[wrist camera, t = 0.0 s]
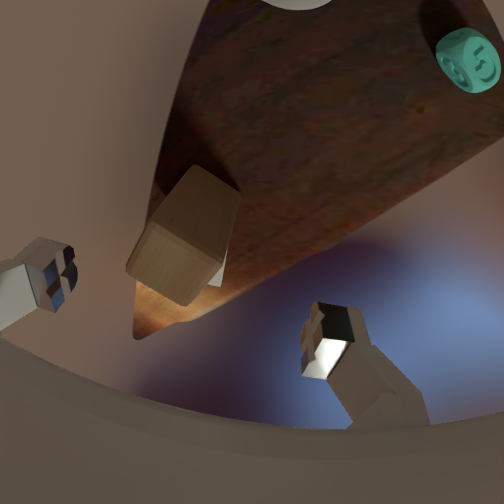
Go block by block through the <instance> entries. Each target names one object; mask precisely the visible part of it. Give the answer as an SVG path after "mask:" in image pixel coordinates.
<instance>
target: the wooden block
mask: <svg viewBox="0 0 504 504" xmlns="http://www.w3.org/2000/svg"><path fill="white" fill-rule="evenodd" d="M240 200H241V194H240V193H239V192H238V191H237V190H235V189H234V188H232V187H231V186H229V185H228V184H226V183H225V182H223V181H222V180H220V179H219V178H217V177H216V176H214V175H213V174H211V173H210V172H208V171H207V170H205V169H203V168H202V167H200V166H199V165H193V166H191V167H190V168H189V169H188V171H187V172H186V173H185V174H184V176H183V177H182V178H181V179H180V181H179V182H178V183H177V184H176V186H175V187H174V188H173V189H172V191H171V192H170V193H169V194H168V196H167V197H166V198H165V200H164V201H163V202H162V203H161V205H160V206H159V207H158V209H157V210H156V211H155V213H154V214H153V215H152V217H151V218H150V219H149V221H148V223H147V225H146V227H145V228H144V230H143V232H142V234H141V236H140V238H139V240H138V242H137V244H136V245H135V247H134V249H133V251H132V254H131V255H130V258H129V259H128V261H127V263H126V272H127V273H128V274H129V275H130V276H132V277H133V278H135V279H137V280H138V281H140V282H142V283H143V284H145V285H147V286H148V287H150V288H152V289H153V290H155V291H157V292H158V293H160V294H162V295H163V296H165V297H167V298H169V299H170V300H172V301H174V302H176V303H177V304H179V305H181V306H188V305H189V304H190V303H191V302H192V301H193V300H194V299H195V298H196V296H197V295H198V294H199V293H200V292H201V291H202V289H203V288H204V287H205V286H206V285H207V284H208V283H209V281H210V280H211V279H212V278H213V277H214V276H215V274H216V273H217V272H218V271H219V270H220V269H221V267H222V266H223V263H224V259H225V255H226V252H227V248H228V244H229V240H230V237H231V233H232V229H233V225H234V222H235V218H236V214H237V211H238V207H239V203H240Z"/></svg>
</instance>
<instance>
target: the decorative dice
mask: <svg viewBox="0 0 504 504" xmlns="http://www.w3.org/2000/svg"><path fill="white" fill-rule="evenodd" d="M436 58H437V61H438V63H439V65H440V66H441V68H442V69H443V71H444V72H445V73H446V75H447V76H448V77H449V78H450V79H451V80H452V81H453V82H454V83H455V84H456V85H457V86H458V87H460V88H461V89H463V90H464V91H467V92H471V93H477V92H481V91H484V90H487V89H489V88H490V87H492V86H493V85H494V84H495V83H496V82H497V81H498V79H499V77H500V72H501V65H500V60H499V56H498V54H497V52H496V50H495V48H494V47H493V45H492V44H491V43H490V42H489V40H488V39H487V38H486V37H485V36H483V35H482V34H481V33H479V32H478V31H476V30H474V29H472V28H468V27H466V28H461V29H458V30H455V31H453V32H451V33H449V34H448V35H446V36H445V37H443V38H442V39H441V40H440V41H439V42H438V43H437V45H436Z"/></svg>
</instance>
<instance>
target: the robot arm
mask: <svg viewBox="0 0 504 504" xmlns="http://www.w3.org/2000/svg"><path fill="white" fill-rule="evenodd" d="M263 1H265V2H267V3H269V4H271V5H273V6H276V7H280V8H284V9H290V10H307V9H313V8H317V7H320V6H322V5H324V4H326V3H328V2H330V1H331V0H263ZM74 258H75V254H74V248H72V247H71V246H70V245H67V244H63V243H60V242H57V241H54V240H49V239H47V238H43V237H37V238H36V239H35V240H34V241H32V242H31V243H30V244H29V245H28V246H27V247H25V248H24V249H23V250H22V251H21V252H20V253H19V254H18V255H17V256H16V257H15V258H13V259H7V260H4V261H1V262H0V331H1V330H2V329H3V328H5V327H7V326H8V325H10V324H12V323H13V322H15V321H17V320H18V319H20V318H21V317H23V316H24V315H26V314H28V313H30V312H31V311H33V310H35V309H36V308H37V307H40V308H42V309H45V310H48V311H51V312H53V313H56V312H57V310H58V309H59V307H60V306H61V305H62V304H63V302H64V301H65V300H64V295H67V294H69V293H71V292H72V290H73V289H74V288H75V286H76V283H77V279H78V271H77V267H76V266H75V264H74V262H73V259H74ZM310 316H311V318H310V319H308V320H306V321H305V323H304V326H303V328H302V333H301V338H300V349H301V350H302V351H303V352H304V354H303V356H302V358H301V371H302V376H306V377H313V378H320V379H327V382H328V384H329V385H330V387H331V388H332V390H333V391H334V393H335V394H336V396H337V397H338V399H339V400H340V402H341V403H342V405H343V407H344V408H345V410H346V411H347V413H348V414H349V416H350V417H351V419H352V420H353V423H352V424H351V425H350V426H349V427H348V428H347V429H317V428H301V427H290V426H279V425H270V424H262V423H254V422H248V421H241V420H235V419H229V418H224V417H218V416H213V415H208V414H204V413H199V412H194V411H190V410H186V409H182V408H177V407H173V406H170V405H166V404H162V403H158V402H155V401H152V400H148V399H145V398H142V397H138V396H135V395H132V394H129V393H126V392H123V391H120V390H117V389H114V388H111V387H108V386H106V385H103V384H100V383H98V382H95V381H93V380H90V379H87V378H85V377H82V376H80V375H78V374H75V373H73V372H71V371H68V370H66V369H64V368H61V367H59V366H57V365H55V364H53V363H51V362H48V361H46V360H44V359H42V358H40V357H38V356H36V355H34V354H32V353H30V352H28V351H27V350H25V349H23V348H21V347H19V346H17V345H15V344H14V343H12V342H10V341H8V340H7V339H5V338H3V336H2V334H1V332H0V504H504V412H499V413H494V414H490V415H486V416H481V417H476V418H471V419H466V420H460V421H454V422H448V423H441V424H434V425H431V424H430V421H429V417H428V413H427V410H426V406H425V403H424V400H423V396H422V393H421V392H420V391H419V390H418V389H417V388H416V387H415V386H414V385H413V384H412V383H411V381H410V380H409V379H408V378H407V377H406V376H405V375H404V374H403V373H402V372H401V371H400V370H399V369H398V368H397V367H396V366H395V365H394V364H393V363H392V362H391V361H390V360H389V359H388V358H387V357H386V356H385V355H384V354H383V353H382V352H381V351H380V350H379V349H378V348H377V347H376V346H375V345H371V342H370V339H369V336H368V332H367V329H366V325H365V322H364V318H363V315H362V312H361V310H360V309H359V308H354V307H347V306H345V307H343V306H338V305H332V304H327V303H321V302H315V303H314V304H313V305H312V308H311V310H310Z"/></svg>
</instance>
